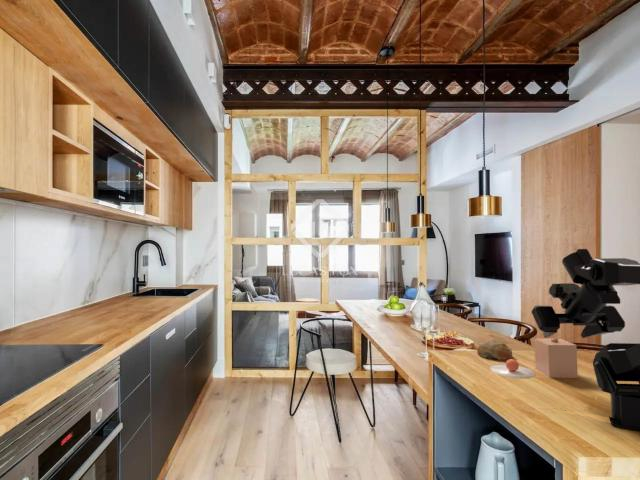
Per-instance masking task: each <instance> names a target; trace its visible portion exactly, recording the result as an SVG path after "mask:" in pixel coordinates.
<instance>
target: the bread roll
mask: <svg viewBox="0 0 640 480" xmlns="http://www.w3.org/2000/svg"><path fill="white" fill-rule="evenodd" d="M477 356H479V357H481V358H483V359H487V360H492V361H499V362H506V361H507V360H509V359H513V351H512V349H511V348H510V346H508V345H507V344H506V343H505V342H504V341H501V340H500V339H494V338H493V339H490V340H486V341H483V342H481V343H480V344H479V345H478V347H477Z"/></svg>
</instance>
